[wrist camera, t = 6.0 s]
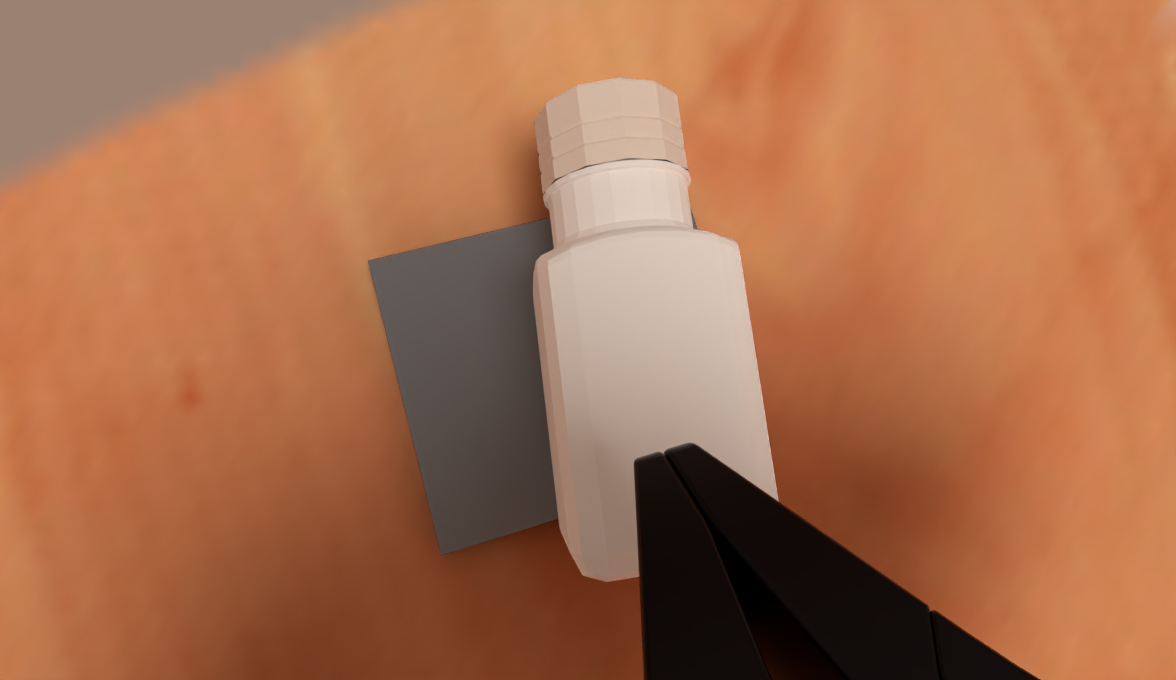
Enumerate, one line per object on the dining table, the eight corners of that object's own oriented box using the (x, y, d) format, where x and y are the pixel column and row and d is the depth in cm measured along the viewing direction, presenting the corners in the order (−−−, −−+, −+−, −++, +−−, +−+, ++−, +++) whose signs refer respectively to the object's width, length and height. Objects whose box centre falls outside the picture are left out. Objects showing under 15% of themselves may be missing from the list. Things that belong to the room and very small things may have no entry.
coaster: (762, 453, 16) (769, 453, 16) (443, 551, 15) (441, 555, 14) (678, 193, 17) (683, 185, 17) (372, 266, 16) (367, 260, 15)
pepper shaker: (560, 552, 15) (515, 158, 16) (728, 527, 15) (672, 147, 17) (577, 595, 11) (515, 69, 12) (800, 560, 11) (721, 59, 13)
